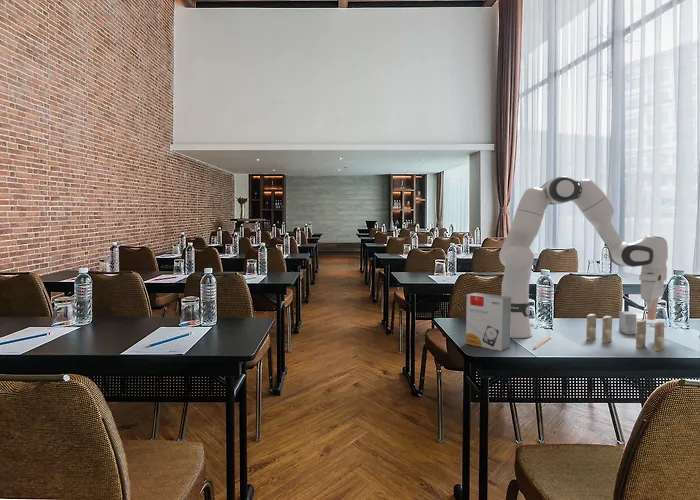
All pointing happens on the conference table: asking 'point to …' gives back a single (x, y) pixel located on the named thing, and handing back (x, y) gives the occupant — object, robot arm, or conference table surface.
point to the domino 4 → (652, 311)
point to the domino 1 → (591, 327)
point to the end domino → (659, 336)
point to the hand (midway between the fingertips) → (652, 308)
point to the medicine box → (627, 322)
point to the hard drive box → (488, 321)
